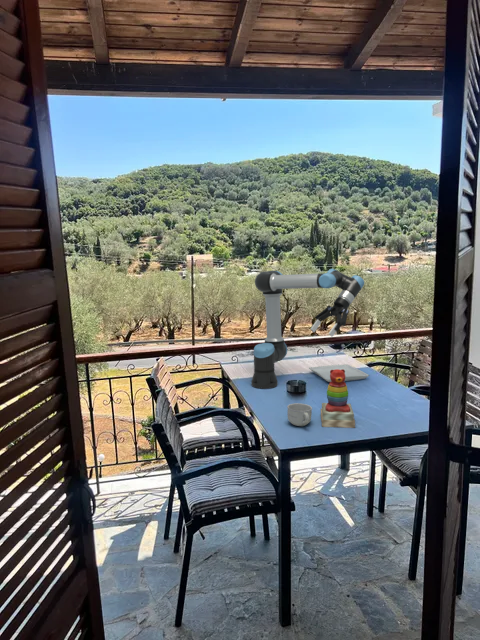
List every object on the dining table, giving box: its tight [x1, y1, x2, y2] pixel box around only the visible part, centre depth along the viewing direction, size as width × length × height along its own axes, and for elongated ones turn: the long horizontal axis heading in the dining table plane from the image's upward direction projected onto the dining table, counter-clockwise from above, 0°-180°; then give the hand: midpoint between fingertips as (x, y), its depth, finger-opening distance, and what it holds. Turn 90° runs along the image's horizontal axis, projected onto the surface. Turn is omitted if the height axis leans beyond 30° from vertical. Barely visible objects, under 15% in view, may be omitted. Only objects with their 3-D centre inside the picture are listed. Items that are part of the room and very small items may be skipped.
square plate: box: [308, 363, 370, 383], centre depth 259 cm, size 27×27×4 cm
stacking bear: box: [325, 369, 350, 412], centre depth 190 cm, size 11×10×18 cm
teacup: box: [286, 402, 313, 427], centre depth 188 cm, size 14×11×8 cm
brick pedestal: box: [320, 402, 356, 429], centre depth 192 cm, size 14×14×6 cm
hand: (321, 332), depth 217 cm, fingers open, 13 cm apart
